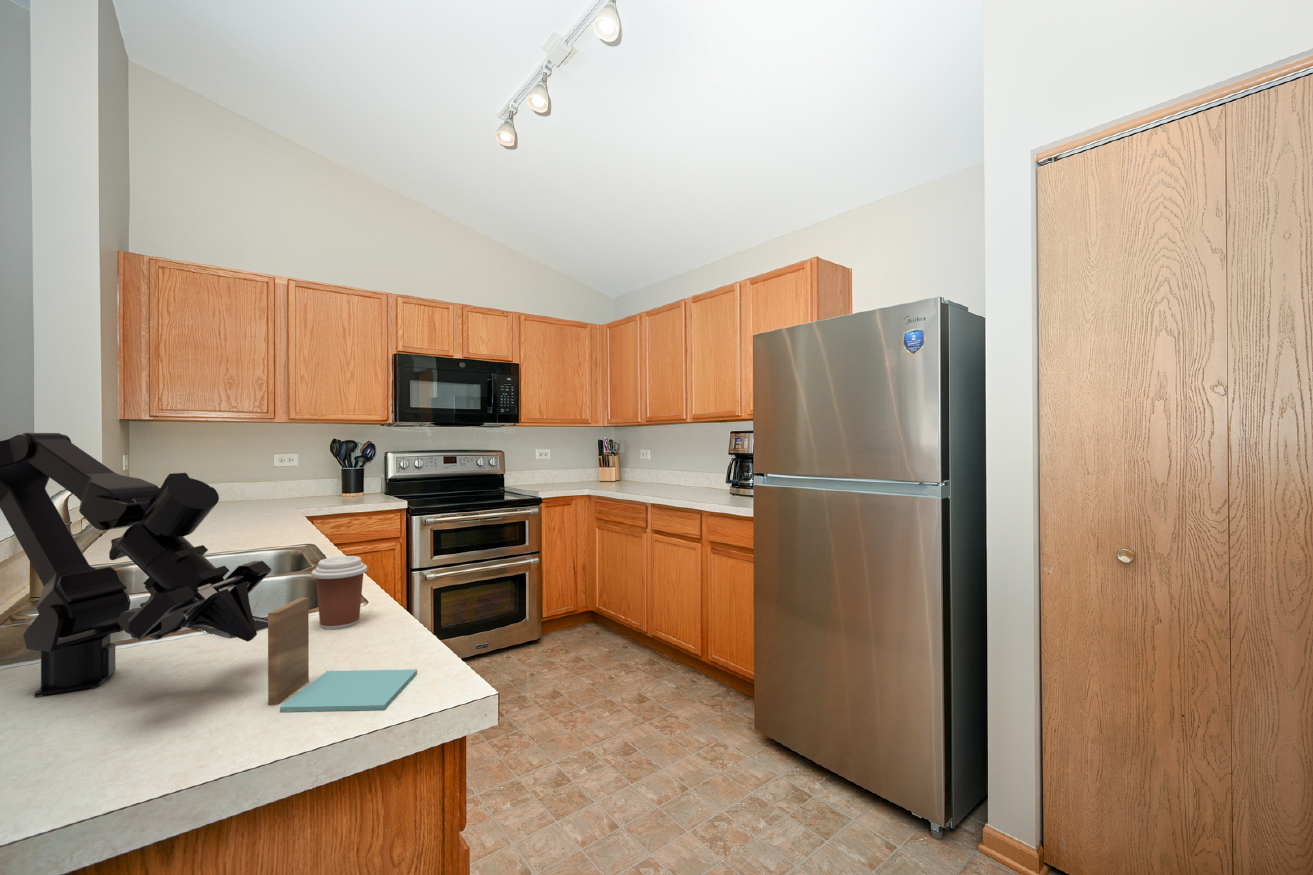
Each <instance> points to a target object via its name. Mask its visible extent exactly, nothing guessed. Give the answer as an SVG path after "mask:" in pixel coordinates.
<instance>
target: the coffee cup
mask: <svg viewBox="0 0 1313 875" xmlns="http://www.w3.org/2000/svg"><path fill="white" fill-rule="evenodd" d="M367 571H368V565H367V564H364V562H362V558H361V557H360V556H358V555H341V556H332V557H327V558H323V559H320V560H319V561H318V562H317V566H316V567H315V569H313V570H312V571H311V577H312V578H313V579H315V584H316V586H315V587H316V595H317V596H316V597H317V606H318V615H319V617H318V618H319V627H320V629H322V630H326V631H327V630H328V631H333V630H343V629H346V628H351V627H354V626H356V625H357V624H359V623H360V615H361V605H362V604H361V603H362V593H363V583H364V582H363V580H364V574H365V573H366V572H367Z"/></svg>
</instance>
